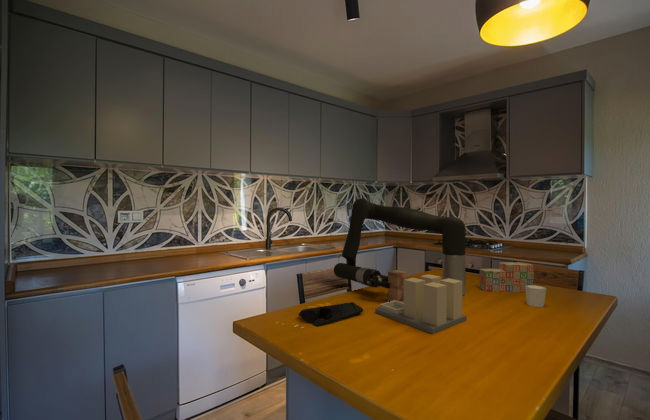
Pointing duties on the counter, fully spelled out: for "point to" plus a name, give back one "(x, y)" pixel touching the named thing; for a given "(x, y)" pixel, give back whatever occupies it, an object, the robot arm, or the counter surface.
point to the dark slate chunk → (330, 313)
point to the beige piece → (535, 295)
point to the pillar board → (427, 304)
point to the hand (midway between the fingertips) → (396, 284)
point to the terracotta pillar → (396, 285)
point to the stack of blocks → (507, 277)
